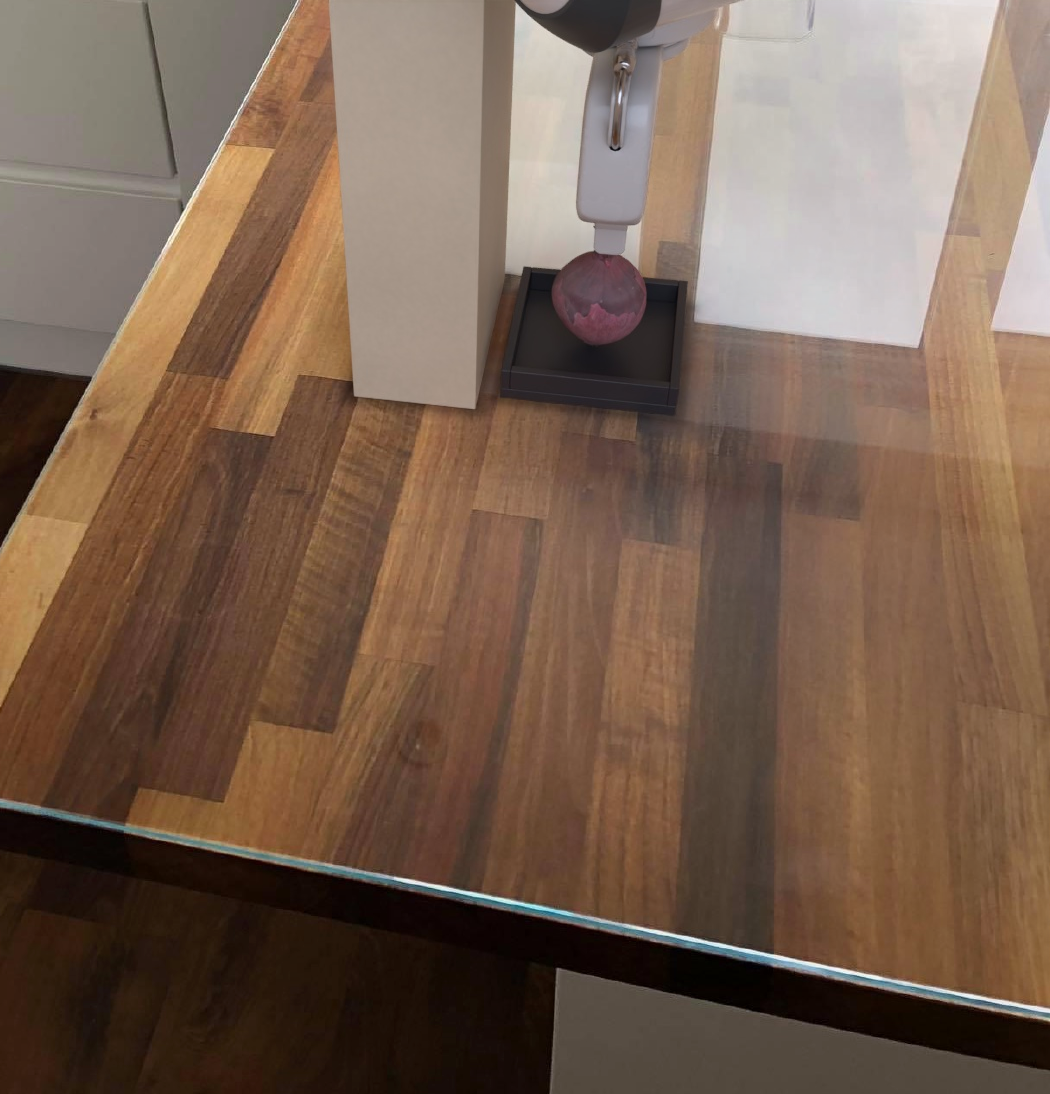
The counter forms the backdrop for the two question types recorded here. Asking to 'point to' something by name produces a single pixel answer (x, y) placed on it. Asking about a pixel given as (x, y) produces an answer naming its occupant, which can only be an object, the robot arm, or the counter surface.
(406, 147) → the column
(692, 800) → the counter surface
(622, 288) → the vegetable
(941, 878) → the counter surface
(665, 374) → the pan
